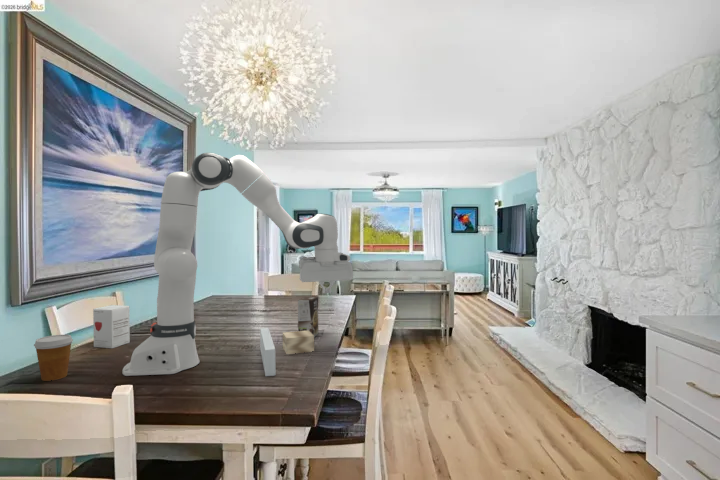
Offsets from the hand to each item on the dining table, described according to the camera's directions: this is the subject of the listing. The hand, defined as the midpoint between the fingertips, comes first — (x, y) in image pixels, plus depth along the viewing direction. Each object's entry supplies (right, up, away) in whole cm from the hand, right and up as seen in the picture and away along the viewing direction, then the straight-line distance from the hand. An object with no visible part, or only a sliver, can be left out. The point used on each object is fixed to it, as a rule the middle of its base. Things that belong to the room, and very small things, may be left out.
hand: (326, 292), depth 154 cm
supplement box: (-85, -21, +6) cm, 88 cm away
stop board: (-19, -21, -16) cm, 33 cm away
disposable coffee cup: (-80, -22, -31) cm, 89 cm away
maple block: (-10, -21, -3) cm, 24 cm away
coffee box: (-9, -21, +17) cm, 28 cm away
